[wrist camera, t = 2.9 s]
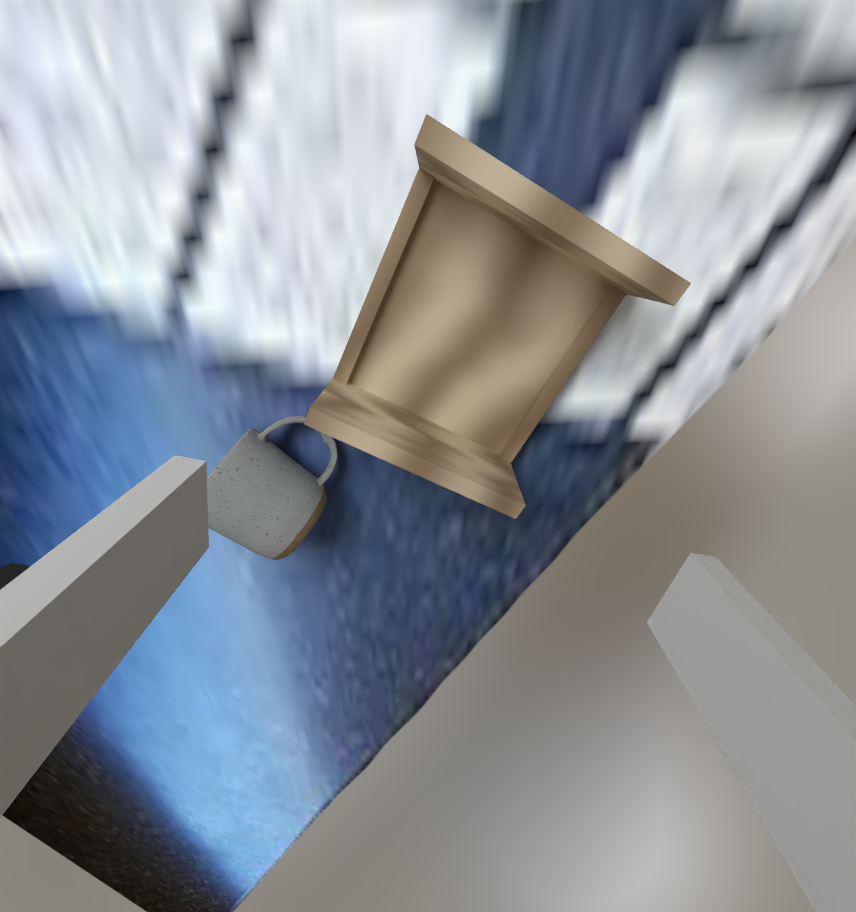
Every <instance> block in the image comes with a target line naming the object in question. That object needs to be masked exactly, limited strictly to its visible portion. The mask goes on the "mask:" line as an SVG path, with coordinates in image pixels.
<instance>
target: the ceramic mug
mask: <svg viewBox="0 0 856 912" xmlns="http://www.w3.org/2000/svg"><path fill="white" fill-rule="evenodd" d="M306 417H307V416H303V415H295V416H289V417H286V418H283V419H280V420H279V421H277V422H275V423H274V424H272V425H271V426H269V427H268V428H266V429H265V430H264V431H263V432H261V433H259V432H257V431H256V430H254V429H249V430H248V431H247V432H246V433H245V434H244V435H243V436H242V437H241V438H240V439H239V441H238V442H237V443H236V444H235V445H234V446H233V448H232V449H231V450H230V451H229V452H228V453H227V455H226V456H225V457H224V458H223V460H222V461H221V462H220V463H219V464H218V466H217V467H216V468H215V469H214V471H213V472H212V473H211V474H210V475H209V476H208V478H207V502H208V528H210V529H212V530H214V531H215V532H217V533H219V534H221V535H223V536H224V537H226V538H228V539H230V540H232V541H234V542H236V543H238V544H240V545H242V546H243V547H245V548H247V549H249V550H251V551H252V552H254V553H256V554H258V555H261V556H264V557H267V558H270V559H274V560H278V559H281V558H284V557H287V556H288V555H289V554H291V553H292V552H293V551H294V550H295V549H296V548H297V547H298V546H299V545H300V543H301V542H302V541H303V540H304V539H305V537H306V536H307V535H308V534H309V532H310V531H311V529H312V528H313V526H314V525H315V523H316V522H317V520H318V519H319V517H320V515H321V513H322V511H323V509H324V507H325V505H326V502H327V492H326V488H325V487H324V483H325V482H326V481H327V479H328V478H329V477H330V475H331V473H332V471H333V470H334V467H335V464H336V461H337V455H338V451H337V446H336V442H335V440H334V438H333V437H331V436H329V435H326V434H324V433H322V432H320V431H318V430H316V431H317V432H318V433H319V434H320V435H321V437H322V438H323V442H324V443H325V444H326V445H328V447H329V449H330V451H331V459H330V461H329V464H328V466H327V468H326V469H325V471H324V473H323V474H322V475H321V476H320V477H319V478H317V477H315V476H314V475H313V474H312V473H310V472H309V471H308V470H306V469H305V468H303V467H302V466H301V465H299V464H298V463H296V462H295V461H294V460H293V459H292V458H290V457H289V456H288V455H286V454H285V453H284V452H283V451H282V450H280V449H279V448H278V447H277V446H276V445H275V444H273V443H272V442H270V441H269V440H268V439H267V435H269V434H270V433H271V432H272V431H274V430H276V429H278V428H280V427H282V426H284V425H287V424H292V423H304V422H305V419H306Z"/></svg>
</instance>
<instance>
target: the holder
mask: <svg viewBox="0 0 856 912" xmlns="http://www.w3.org/2000/svg"><path fill="white" fill-rule="evenodd" d="M414 145H415V150H416V155H417V159H418V164H419V170H418V172H417V175H416V177H415V180H414V182H413V184H412V187H411V189H410V192H409V194H408V197H407V199H406V201H405V204H404V206H403V209H402V211H401V214H400V216H399V219H398V221H397V223H396V226H395V228H394V231H393V233H392V236H391V238H390V241H389V243H388V245H387V248H386V250H385V253H384V255H383V258H382V260H381V262H380V265H379V267H378V270H377V272H376V275H375V277H374V280H373V282H372V284H371V287H370V289H369V292H368V294H367V297H366V299H365V301H364V304H363V306H362V309H361V311H360V314H359V316H358V319H357V321H356V323H355V326H354V328H353V331H352V333H351V336H350V338H349V341H348V343H347V345H346V348H345V350H344V353H343V355H342V358H341V360H340V362H339V365H338V367H337V370H336V372H335V375H334V377H333V379H332V380H331V382H330V383H329V384H328V385H327V387H326V388H325V389H324V390H323V392H322V393H321V394H320V396H319V397H318V398H317V399H316V401H315V402H314V403H313V404H312V406H311V407H310V409H309V411H308V414H307V417H306V419H305V422H304V425H306V426H309V427H311V428H313V429H315V430H318V431H320V432H322V433H324V434H326V435H329V436H331V437H333V438H335V439H338V440H340V441H342V442H344V443H347V444H349V445H351V446H353V447H356V448H358V449H360V450H362V451H365V452H367V453H369V454H371V455H373V456H376V457H378V458H380V459H382V460H385V461H387V462H389V463H391V464H394V465H396V466H398V467H400V468H403V469H405V470H407V471H409V472H412V473H414V474H416V475H418V476H420V477H423V478H425V479H427V480H429V481H432V482H434V483H436V484H438V485H441V486H443V487H445V488H447V489H450V490H452V491H454V492H456V493H458V494H461V495H463V496H465V497H467V498H470V499H472V500H474V501H476V502H479V503H481V504H483V505H485V506H488V507H490V508H492V509H494V510H497V511H499V512H501V513H503V514H505V515H508V516H510V517H512V518H514V519H516V518H517V517H518V515H519V514H520V513H521V511H522V510H523V509H524V507H525V503H524V500H523V497H522V494H521V491H520V488H519V486H518V483H517V480H516V477H515V474H514V471H513V468H512V466H511V462H512V460H513V459H514V457H515V456H516V455H517V453H518V452H519V450H520V449H521V447H522V446H523V444H524V443H525V441H526V440H527V438H528V437H529V436H530V434H531V433H532V431H533V430H534V428H535V427H536V425H537V424H538V422H539V421H540V419H541V418H542V417H543V415H544V414H545V412H546V411H547V409H548V408H549V406H550V405H551V403H552V402H553V400H554V399H555V398H556V396H557V395H558V393H559V392H560V390H561V389H562V387H563V386H564V384H565V383H566V381H567V380H568V379H569V377H570V376H571V374H572V373H573V371H574V370H575V368H576V367H577V365H578V364H579V362H580V361H581V359H582V358H583V357H584V355H585V354H586V352H587V351H588V349H589V348H590V346H591V345H592V343H593V342H594V340H595V339H596V338H597V336H598V335H599V333H600V332H601V330H602V329H603V327H604V326H605V324H606V323H607V321H608V320H609V319H610V317H611V316H612V314H613V313H614V311H615V310H616V308H617V307H618V305H619V304H620V302H621V301H622V300H623V298H624V297H625V295H626V294H628V295H632V296H636V297H640V298H645V299H649V300H653V301H657V302H661V303H665V304H669V305H673V306H675V304H676V303H677V302H678V300H679V299H680V298H681V296H682V295H683V294H684V292H685V291H686V290H687V288H688V287H689V285H690V284H691V283H690V282H688V281H687V280H685V279H683V278H682V277H680V276H679V275H677V274H676V273H674V272H673V271H671V270H669V269H668V268H666V267H665V266H663V265H662V264H660V263H658V262H657V261H655V260H654V259H652V258H651V257H649V256H648V255H646V254H644V253H643V252H641V251H640V250H638V249H637V248H635V247H633V246H632V245H630V244H629V243H627V242H626V241H624V240H623V239H621V238H619V237H618V236H616V235H615V234H613V233H612V232H610V231H608V230H607V229H605V228H604V227H602V226H601V225H599V224H598V223H596V222H594V221H593V220H591V219H590V218H588V217H587V216H585V215H583V214H582V213H580V212H579V211H577V210H576V209H574V208H573V207H571V206H569V205H568V204H566V203H565V202H563V201H562V200H560V199H558V198H557V197H555V196H554V195H552V194H551V193H549V192H548V191H546V190H544V189H543V188H541V187H540V186H538V185H537V184H535V183H533V182H532V181H530V180H529V179H527V178H526V177H524V176H523V175H521V174H519V173H518V172H516V171H515V170H513V169H512V168H510V167H508V166H507V165H505V164H504V163H502V162H501V161H499V160H498V159H496V158H494V157H493V156H491V155H490V154H488V153H487V152H485V151H483V150H482V149H480V148H479V147H477V146H476V145H474V144H473V143H471V142H469V141H468V140H466V139H465V138H463V137H462V136H460V135H458V134H457V133H455V132H454V131H452V130H451V129H449V128H448V127H446V126H444V125H443V124H441V123H440V122H438V121H437V120H435V119H433V118H432V117H430V116H429V115H427V114H426V117H425V119H424V122H423V124H422V127H421V129H420V132H419V134H418V137H417V139H416V142H415V144H414Z"/></svg>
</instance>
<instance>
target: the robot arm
mask: <svg viewBox="0 0 856 912" xmlns="http://www.w3.org/2000/svg"><path fill="white" fill-rule="evenodd" d="M208 548H209V538H208V502H207V466H206V461H202V460H197V459H191V458H186V457H181V456H176V455H175V456H173V457H172V458H171V459H170V460H168V461H167V462H166V463H164V464H163V465H162V466H160V467H159V468H158V469H157V470H155V471H154V472H153V473H151V474H150V475H149V476H147V477H146V478H145V479H144V480H142V481H141V482H140V483H138V484H137V485H136V486H134V487H133V488H132V489H131V490H129V491H128V492H127V493H125V494H124V495H123V496H122V497H120V498H119V499H118V500H116V501H115V502H114V503H112V504H111V505H110V506H109V507H107V508H106V509H105V510H103V511H102V512H101V513H99V514H98V515H97V516H96V517H94V518H93V519H92V520H90V521H89V522H88V523H86V524H85V525H84V526H83V527H81V528H80V529H79V530H77V531H76V532H75V533H73V534H72V535H71V536H70V537H68V538H67V539H66V540H64V541H63V542H62V543H60V544H59V545H58V546H57V547H55V548H54V549H53V550H51V551H50V552H49V553H48V554H46V555H45V556H44V557H42V558H41V559H40V560H38V561H37V562H36V563H35V564H33V565H32V566H26V565H20V564H14V563H10V564H8V565H5V566H3V567H1V568H0V817H1V816H2V814H3V813H4V812H5V810H6V809H7V808H8V807H9V805H10V804H11V803H12V801H13V800H14V799H15V798H16V796H17V795H18V794H19V792H20V791H21V790H22V788H23V787H24V786H25V785H26V783H27V782H28V781H29V779H30V778H31V777H32V775H33V774H34V773H35V772H36V770H37V769H38V768H39V766H40V765H41V764H42V763H43V761H44V760H45V759H46V757H47V756H48V755H49V753H50V752H51V751H52V750H53V748H54V747H55V746H56V744H57V743H58V742H59V741H60V739H61V738H62V737H63V735H64V734H65V733H66V731H67V730H68V729H69V728H70V726H71V725H72V724H73V722H74V721H75V720H76V719H77V717H78V716H79V715H80V713H81V712H82V711H83V709H84V708H85V707H86V706H87V704H88V703H89V702H90V700H91V699H92V698H93V696H94V695H95V694H96V693H97V691H98V690H99V689H100V687H101V686H102V685H103V684H104V682H105V681H106V680H107V678H108V677H109V676H110V674H111V673H112V672H113V671H114V669H115V668H116V667H117V665H118V664H119V663H120V662H121V660H122V659H123V658H124V656H125V655H126V654H127V652H128V651H129V650H130V649H131V647H132V646H133V645H134V643H135V642H136V641H137V639H138V638H139V637H140V636H141V634H142V633H143V632H144V630H145V629H146V628H147V627H148V625H149V624H150V623H151V621H152V620H153V619H154V617H155V616H156V615H157V614H158V612H159V611H160V610H161V608H162V607H163V606H164V605H165V603H166V602H167V601H168V599H169V598H170V597H171V595H172V594H173V593H174V592H175V590H176V589H177V588H178V586H179V585H180V584H181V583H182V581H183V580H184V579H185V577H186V576H187V575H188V573H189V572H190V571H191V570H192V568H193V567H194V566H195V564H196V563H197V562H198V560H199V559H200V558H201V557H202V555H203V554H204V553H205V551H206V550H207V549H208ZM647 623H648V625H649V627H650V629H651V631H652V632H653V634H654V635H655V637H656V639H657V641H658V643H659V644H660V646H661V648H662V649H663V651H664V653H665V655H666V656H667V658H668V660H669V661H670V663H671V665H672V667H673V668H674V670H675V672H676V673H677V675H678V677H679V679H680V680H681V682H682V683H683V685H684V687H685V689H686V691H687V692H688V694H689V696H690V697H691V699H692V701H693V703H694V704H695V706H696V708H697V709H698V711H699V713H700V715H701V716H702V718H703V720H704V721H705V723H706V725H707V727H708V728H709V730H710V732H711V733H712V735H713V737H714V738H715V740H716V742H717V744H718V745H719V747H720V749H721V750H722V752H723V754H724V756H725V757H726V759H727V761H728V763H729V764H730V766H731V768H732V769H733V771H734V773H735V775H736V776H737V778H738V780H739V781H740V783H741V785H742V787H743V788H744V790H745V792H746V794H747V795H748V797H749V799H750V800H751V802H752V804H753V806H754V807H755V809H756V810H757V812H758V814H759V816H760V818H761V819H762V821H763V822H764V824H765V826H766V828H767V830H768V831H769V833H770V835H771V836H772V838H773V840H774V841H775V843H776V845H777V847H778V848H779V850H780V852H781V854H782V855H783V857H784V859H785V860H786V862H787V864H788V866H789V867H790V869H791V871H792V872H793V874H794V876H795V878H796V879H797V881H798V883H799V884H800V886H801V888H802V889H803V891H804V893H805V895H806V896H807V898H808V900H809V901H810V903H811V905H812V907H813V908H814V910H815V912H856V706H855V705H854V704H853V703H852V702H851V700H850V699H849V698H848V697H847V696H846V695H845V694H844V693H843V692H842V691H841V690H840V689H839V688H838V687H837V686H836V685H835V683H834V682H833V681H832V680H831V679H830V678H829V677H828V676H827V675H826V674H825V673H824V672H823V671H822V670H821V669H820V667H819V666H818V665H817V664H816V663H815V662H814V661H813V660H812V659H811V658H810V657H809V656H808V655H807V654H806V653H805V652H804V650H803V649H802V648H801V647H800V646H799V645H798V644H797V643H796V642H795V641H794V640H793V639H792V638H791V637H790V636H789V635H788V634H787V633H786V631H785V630H784V629H783V628H782V627H781V626H780V625H779V624H778V623H777V622H776V621H775V620H774V619H773V617H772V616H771V615H770V614H769V613H768V612H767V611H766V610H765V609H764V608H763V607H762V606H761V605H760V604H759V603H758V602H757V600H755V598H754V597H753V596H752V595H751V594H750V593H749V592H748V591H747V590H746V589H745V588H744V587H743V586H742V585H741V583H740V582H739V581H738V580H737V579H736V578H735V577H734V576H733V575H732V574H731V573H730V572H729V571H728V570H727V568H726V567H725V566H724V565H723V564H722V563H721V562H720V561H719V560H718V559H717V558H716V557H711V556H705V555H700V554H695V553H690V555H689V556H688V558H687V559H686V561H685V563H684V564H683V566H682V567H681V569H680V571H679V572H678V574H677V576H676V577H675V579H674V580H673V582H672V583H671V585H670V586H669V588H668V590H667V591H666V593H665V594H664V596H663V598H662V599H661V601H660V602H659V604H658V606H657V607H656V609H655V610H654V612H653V614H652V615H651V617H650V618H649V620H648V621H647Z"/></svg>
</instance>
